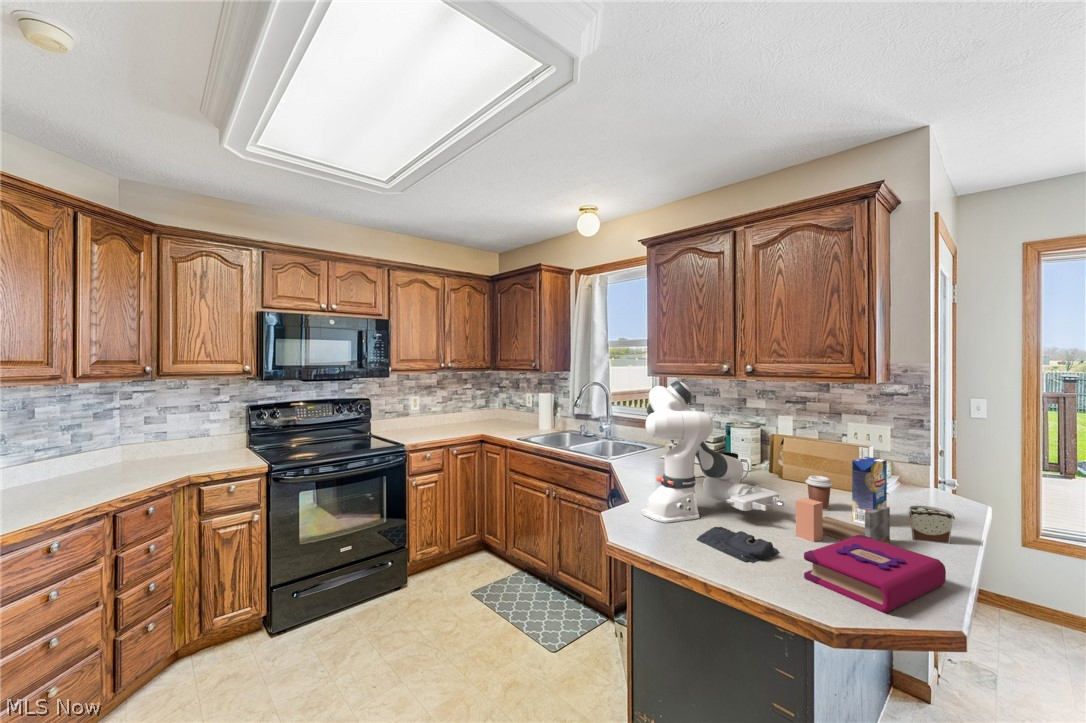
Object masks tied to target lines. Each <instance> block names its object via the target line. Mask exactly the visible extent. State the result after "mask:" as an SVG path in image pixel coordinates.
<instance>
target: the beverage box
mask: <svg viewBox="0 0 1086 723" xmlns="http://www.w3.org/2000/svg"><path fill="white" fill-rule="evenodd" d="M887 461H888V460H887V459H884V458H875V457H871V456H863V457H858V458H856V459H853V460H852V461H851V462H852V464H851V465H852V467H851V469H852V470H851V471H852V472H851V473H852V474H851V475H852V478H851V481H852V483H851V487H852V489H851V490H852V491H851V493H852V495H851V508H852V509H851V521H852V522H856V523H859V524H864V525H865V512H868V511H871V510H874V509H877V508H880V507H883V506H886V507H888V506H887V502H888V499H887V497H888V496H887V493H888V492H887V488H888V487H887V485H888V482H887V479H888V478H887V475H888V474H887V473H888V472H887V469H888V468H887V466H888V465H887V463H888V462H887Z"/></svg>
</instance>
